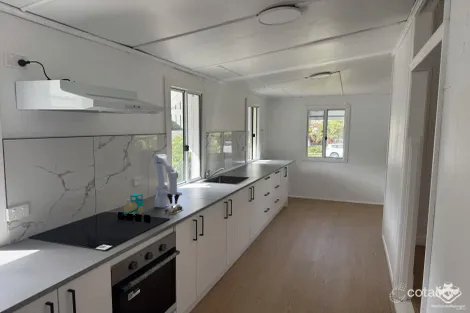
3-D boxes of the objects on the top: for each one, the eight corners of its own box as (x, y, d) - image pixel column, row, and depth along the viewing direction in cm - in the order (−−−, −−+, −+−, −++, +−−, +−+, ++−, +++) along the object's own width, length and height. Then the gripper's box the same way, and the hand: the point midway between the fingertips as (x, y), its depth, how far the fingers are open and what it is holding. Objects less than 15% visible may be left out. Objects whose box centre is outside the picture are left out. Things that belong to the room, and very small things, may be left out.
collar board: (163, 213, 237) (163, 208, 237) (172, 208, 251) (172, 204, 250) (175, 214, 235) (175, 209, 234) (183, 209, 248) (183, 205, 248)
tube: (167, 212, 236) (171, 214, 235) (168, 207, 235) (172, 209, 234) (175, 208, 249) (180, 209, 248) (176, 203, 248) (181, 205, 247)
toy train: (120, 218, 226) (120, 198, 225) (135, 212, 241) (135, 193, 240) (129, 219, 223) (128, 198, 222) (143, 213, 238) (143, 194, 237)
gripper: (162, 187, 239) (162, 204, 240) (179, 188, 235) (179, 205, 236) (166, 185, 246) (167, 202, 247) (183, 186, 242) (183, 203, 243)
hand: (173, 203), depth 242 cm, fingers open, 4 cm apart
